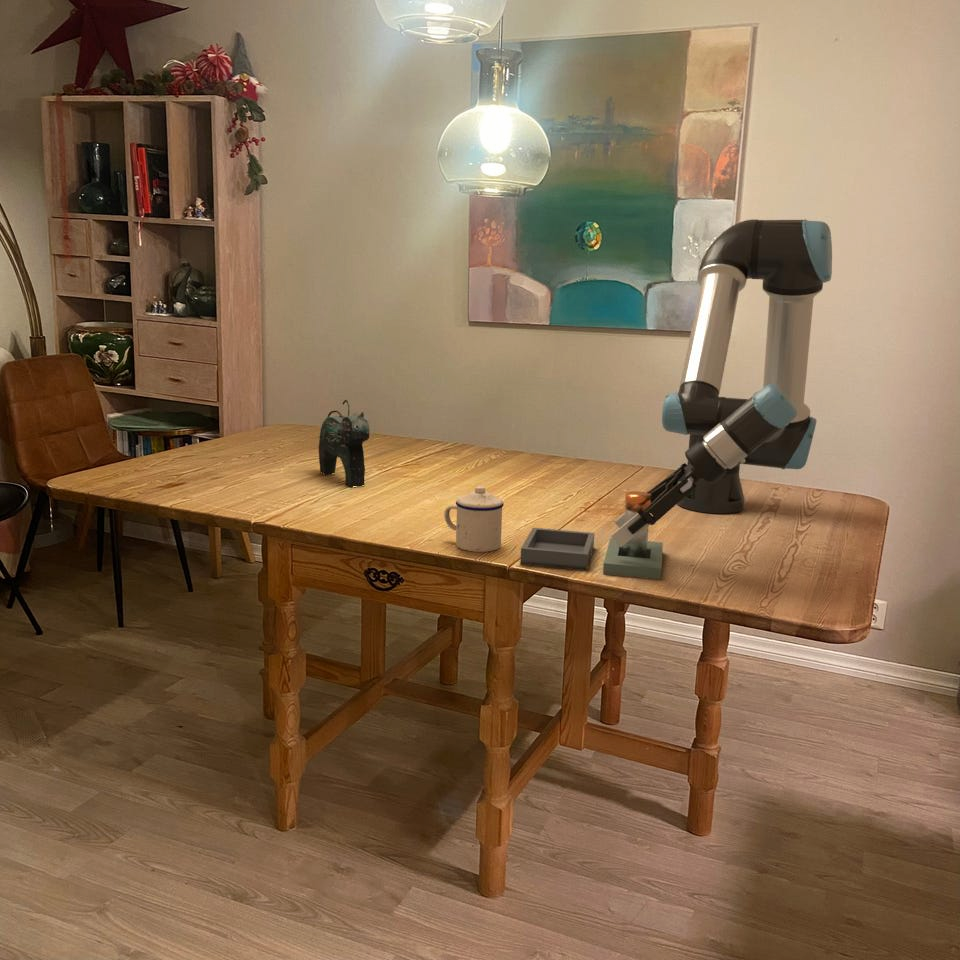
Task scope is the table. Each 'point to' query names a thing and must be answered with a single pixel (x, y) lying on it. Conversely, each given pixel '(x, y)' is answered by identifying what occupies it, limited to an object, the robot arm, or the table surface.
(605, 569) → the green holder base
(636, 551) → the pepper shaker
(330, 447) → the ceramic cat
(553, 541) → the tray
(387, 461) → the table surface
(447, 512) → the teacup with lid
